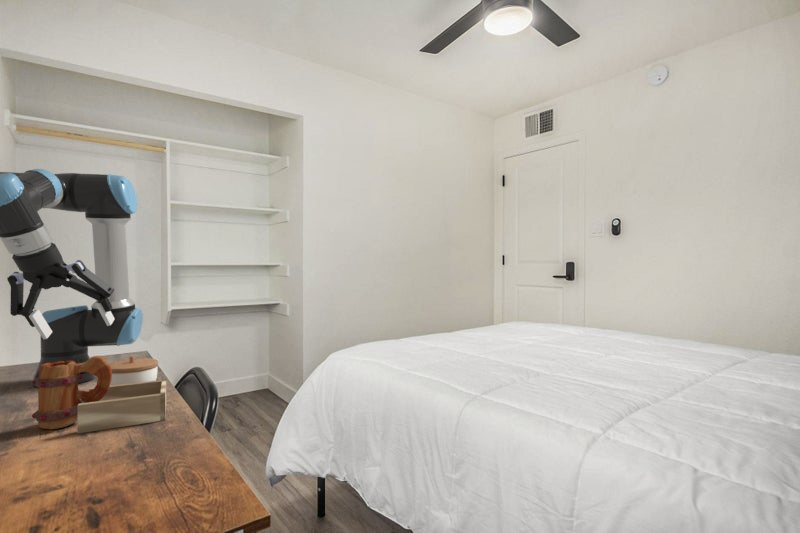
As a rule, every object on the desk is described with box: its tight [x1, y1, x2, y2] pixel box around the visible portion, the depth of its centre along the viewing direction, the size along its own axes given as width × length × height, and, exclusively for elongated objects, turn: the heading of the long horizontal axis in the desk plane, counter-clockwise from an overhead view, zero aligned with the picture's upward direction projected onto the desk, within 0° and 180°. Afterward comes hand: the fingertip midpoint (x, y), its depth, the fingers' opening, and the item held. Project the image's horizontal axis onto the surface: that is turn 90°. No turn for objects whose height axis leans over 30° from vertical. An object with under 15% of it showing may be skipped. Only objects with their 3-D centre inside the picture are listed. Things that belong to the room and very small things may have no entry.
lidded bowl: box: [109, 355, 159, 386], centre depth 117 cm, size 13×13×11 cm
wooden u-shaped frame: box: [77, 379, 167, 434], centre depth 101 cm, size 15×16×6 cm
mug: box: [31, 355, 112, 430], centre depth 96 cm, size 15×8×15 cm, turn 117°
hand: (80, 329), depth 99 cm, fingers open, 13 cm apart
